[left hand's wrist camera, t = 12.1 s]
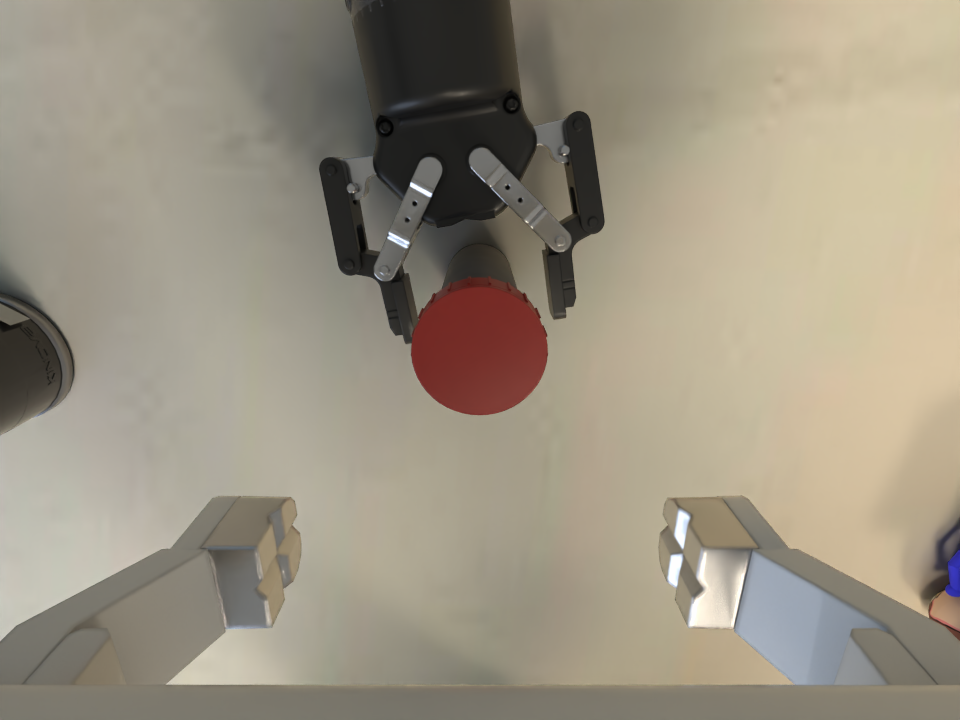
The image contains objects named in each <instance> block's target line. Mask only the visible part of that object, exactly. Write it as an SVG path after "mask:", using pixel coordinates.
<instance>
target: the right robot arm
mask: <svg viewBox="0 0 960 720" xmlns="http://www.w3.org/2000/svg"><path fill="white" fill-rule="evenodd" d="M345 2H346V6H347V10H348V11H349V13H350V15H351V19H352V23H353V28H354V32H355V37H356V41H357V46H358V50H359V55H360V60H361V64H362V69H363V74H364V78H365V83H366V87H367V92H368V97H369V101H370V106H371V110H372V115H373V120H374V124H375V129H376V147H375V151H374V155H373V156H366V157H357V158H348V159H344V158H340V157H328V158H325V159H324V160H323V161H322V162H321V164H320V167H319V170H320V176H321V181H322V186H323V191H324V196H325V201H326V206H327V211H328V216H329V221H330V226H331V231H332V236H333V241H334V246H335V251H336V256H337V261H338V266H339V268H340V270H341V271H342V272H343V273H344V274H346V275H355V274H357V275H363V276H368V277H371V278H373V279H375V280H376V281H377V282H378V283H379V285H380V287H381V291H382V295H383V299H384V304H385V308H386V311H387V316H388V320H389V325H390V328H391V330H392V331H393V333H394V334H395V335H396V336H397V335H403V338H404V341H405V343H406V344H410V343H412V339H413V337H411V336H412V333H413V330H414V328H415V326H417V323H418V321H419V320H418V315H417V311H416V306H415V301H414V297H413V292H412V287H411V283H410V278H409V274H408V273H406V274H404V271H403V266H402V265H403V263H404V261H405V259H406V257H407V255H408V252H409V250H410V248H411V246H412V244H413V242H414V240H415V238H416V236H417V234H418V232H419V230H420V228H421V226H422V224H423V222H425V223H427V224H429V225H433V226H437V228H439V227H445V226H451V225H453V224H455V223H458V222H460V221H462V220H464V219H473V220H486V219H492V218H495V216H497V215H499V214H500V213H502V212H503V211H504V210H505V209H506V208H507V206H509V207H510V208H511V209H512V210H513V211H514V212H515V213H516V214H517V215H518V216H519V217H520V218H521V219H522V220H523V221H524V222H525V223H526V224H527V225H528V226H529V227H530V228H531V229H532V230H533V231H534V232H535V233H536V234H537V235H538V236H539V237H540V238H541V239H542V240H543V241H544V242H545V247H546V249H545V250H542V254H543V262H544V270H545V278H546V286H547V295H548V303H549V309H550V313H551V315H552V317H553V319H554V320H555V319H562V318H566V308H567V307H573V306H574V303H575V299H576V292H575V282H574V273H573V263H572V249H573V247H574V245H575V244H576V243H577V242H578V241H580V240H581V239H583V238H585V237H587V236H589V235H590V234H596V233H598V232H599V231H601V229H602V228H603V226H604V214H603V206H602V199H601V192H600V185H599V178H598V171H597V164H596V157H595V150H594V143H593V136H592V129H591V122H590V118H589V116H588V115H587V114H586V113H584V112H582V111H576V112H574V113H572V114H570V115H569V116H567V117H565V118H564V119H561V120H557V121H553V122H549V123H545V124H541V125H537V126H533V125H532V124H531V123H530V121H529V120H528V118H527V116H526V114H525V112H524V109H523V104H522V97H521V89H520V81H519V73H518V65H517V57H516V49H515V41H514V33H513V25H512V17H511V9H510V1H509V0H345ZM537 146H543V147H544V148H546V149H547V150H548V152H549V154H550V157H551V159H552V160H553V161H554V162H556V163H564V165H565V171H566V177H567V183H568V189H569V196H570V202H571V208H572V215H570V216H568V217H567V218H565V219H563V220H561V221H560V222H558V221H557V220H556V219H555V218H554V217H553V216H552V215H551V214H550V213H549V212H548V211H547V210H546V209H545V207H544V206H543V205H542V204H541V203H540V202H539V201H538V200H537V199H536V198H535V197H534V196H533V195H532V194H531V193H530V192H529V191H528V190H527V189H526V188H525V187H524V186H523V185H522V184H521V183H520V181H521V179H522V177H523V175H524V173H525V171H526V169H527V167H528V165H529V163H530V161H531V159H532V157H533V155H534V153H535V150H536V147H537ZM375 175H377V177H378V178H379V179H380V180H381V181H382V182H383V183H384V184H385V185H386V186H387V187H388V188H389V189H390V190H391V191H392V192H393V193H394V194H395V195H396V196H397V197H398V198H399V199H400V200H401V201H402V203H401V205H400V208H399V210H398V212H397V214H396V217H395V219H394V221H393V223H392V225H391V228H390V230H389V232H388V236H387V239H386V241H385V243H384V245H383V248H382V250H381V252H378V251H373V250H368V244H367V239H366V233H365V228H364V222H363V216H362V211H361V205H360V199H362V198H364V197H366V196H367V194H368V192H369V182H370V180H371V178H372V177H373V176H375ZM72 377H73V367H72V361H71V356H70V353H69V351H68V348H67V346H66V344H65V342H64V340H63V338H62V337H61V335H60V334H59V332H58V331H57V330H56V328H55V327H54V326H53V325H52V324H51V323H50V322H49V321H48V320H47V319H46V318H45V317H44V316H43V315H42V314H41V313H39V312H38V311H37V310H35V309H34V308H32V307H31V306H29V305H28V304H26V303H24V302H22V301H20V300H18V299H16V298H13V297H10V296H8V295H4V294H0V435H2V434H4V433H6V432H8V431H10V430H11V429H13V428H15V427H17V426H19V425H20V424H22V423H24V422H26V421H28V420H29V419H31V418H34V417H37V416H39V415H41V414H43V413H45V412H47V411H49V410H50V409H52V408H54V407H55V406H57V405H58V404H59V403H60V402H61V401H62V400H63V399H64V398H65V396H66V395H67V393H68V391H69V389H70V387H71V383H72Z"/></svg>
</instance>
